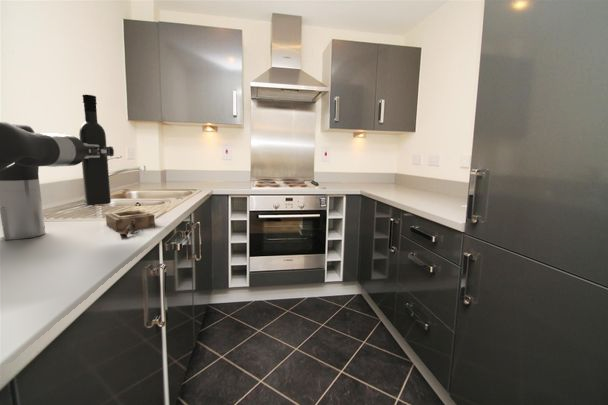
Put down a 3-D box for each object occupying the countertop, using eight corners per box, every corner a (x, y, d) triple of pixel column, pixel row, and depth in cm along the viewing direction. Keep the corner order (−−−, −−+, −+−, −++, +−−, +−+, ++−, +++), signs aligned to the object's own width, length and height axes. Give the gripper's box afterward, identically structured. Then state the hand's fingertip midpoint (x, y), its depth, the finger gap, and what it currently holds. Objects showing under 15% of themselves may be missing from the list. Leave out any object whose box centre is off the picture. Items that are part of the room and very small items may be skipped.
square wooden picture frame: (116, 231, 96) (115, 218, 95) (106, 225, 104) (105, 212, 103) (154, 226, 104) (154, 213, 104) (143, 220, 112) (142, 208, 112)
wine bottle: (85, 202, 85) (75, 95, 80) (108, 201, 88) (100, 98, 84) (87, 205, 80) (76, 92, 76) (111, 203, 84) (103, 95, 79)
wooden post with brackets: (139, 228, 98) (136, 217, 95) (129, 244, 91) (125, 233, 88) (134, 228, 97) (130, 217, 95) (123, 244, 91) (119, 233, 88)
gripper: (89, 134, 68) (123, 138, 84) (21, 132, 66) (69, 136, 83) (91, 167, 69) (125, 164, 86) (25, 165, 68) (72, 163, 84)
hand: (97, 151), depth 84 cm, fingers closed on wine bottle, 7 cm apart
